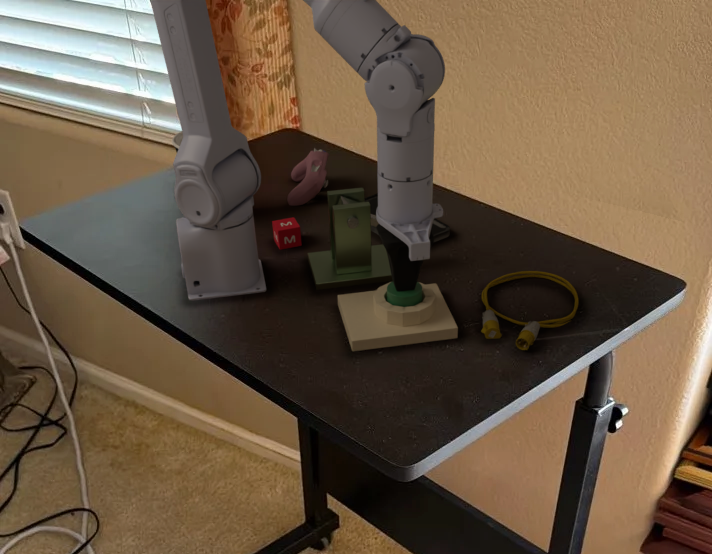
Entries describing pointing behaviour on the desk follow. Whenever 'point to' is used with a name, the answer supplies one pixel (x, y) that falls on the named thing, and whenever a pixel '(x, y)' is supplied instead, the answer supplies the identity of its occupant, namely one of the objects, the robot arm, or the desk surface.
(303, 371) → the desk surface
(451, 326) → the switch plate
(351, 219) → the switch bracket
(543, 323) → the extension cord
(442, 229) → the phone
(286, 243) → the red letter cube
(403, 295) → the button
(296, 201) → the video game controller
